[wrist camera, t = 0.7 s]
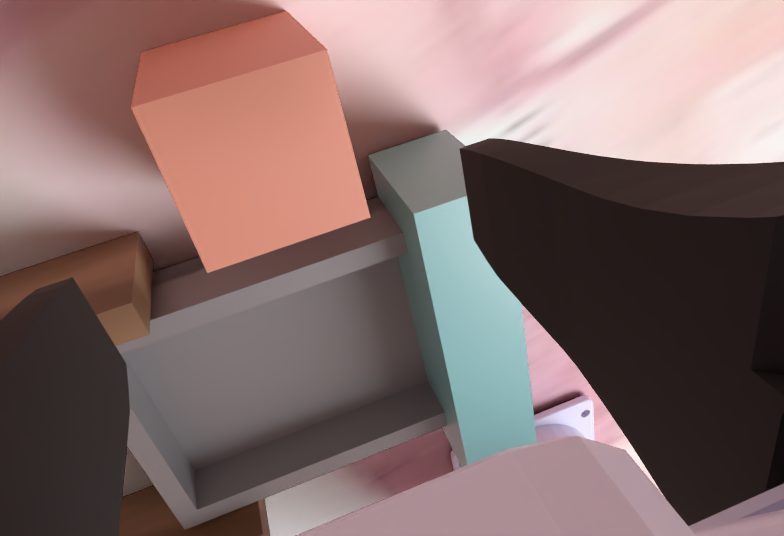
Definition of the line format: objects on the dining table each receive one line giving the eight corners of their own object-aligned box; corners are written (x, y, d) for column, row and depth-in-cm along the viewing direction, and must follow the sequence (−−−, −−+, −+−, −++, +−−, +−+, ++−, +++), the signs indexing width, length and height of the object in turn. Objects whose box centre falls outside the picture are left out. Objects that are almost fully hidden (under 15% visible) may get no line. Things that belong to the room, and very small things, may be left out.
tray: (487, 381, 29) (538, 459, 25) (198, 495, 27) (203, 599, 23) (445, 129, 22) (508, 181, 18) (48, 258, 20) (17, 349, 16)
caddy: (259, 465, 28) (272, 551, 24) (-18, 573, 26) (-49, 683, 23) (138, 231, 21) (131, 302, 17) (-252, 358, 19) (-353, 467, 15)
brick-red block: (324, 144, 21) (370, 217, 16) (198, 185, 21) (207, 273, 16) (286, 10, 19) (326, 49, 14) (141, 51, 18) (131, 107, 13)
